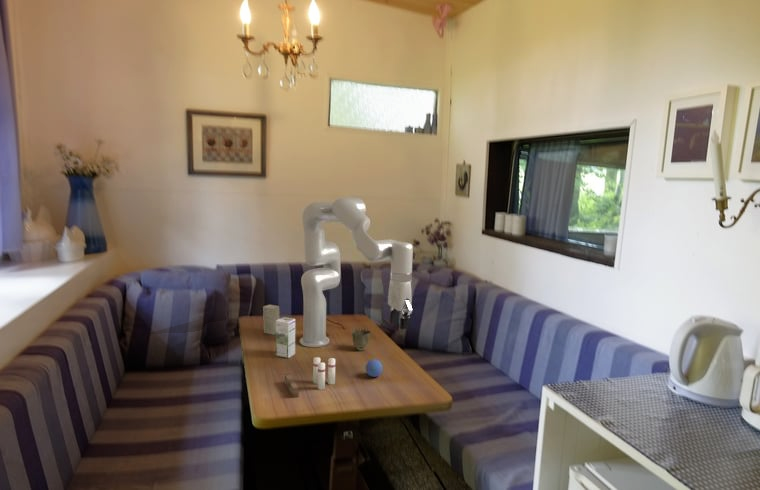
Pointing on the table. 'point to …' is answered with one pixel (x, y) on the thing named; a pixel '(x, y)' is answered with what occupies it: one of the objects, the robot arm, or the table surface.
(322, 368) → the pin
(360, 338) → the cup
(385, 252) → the robot arm
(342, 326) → the glasses
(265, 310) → the skincare box
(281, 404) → the table surface
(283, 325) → the syrup box
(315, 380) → the pin
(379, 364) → the ball
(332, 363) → the front pin
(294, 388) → the back wall
